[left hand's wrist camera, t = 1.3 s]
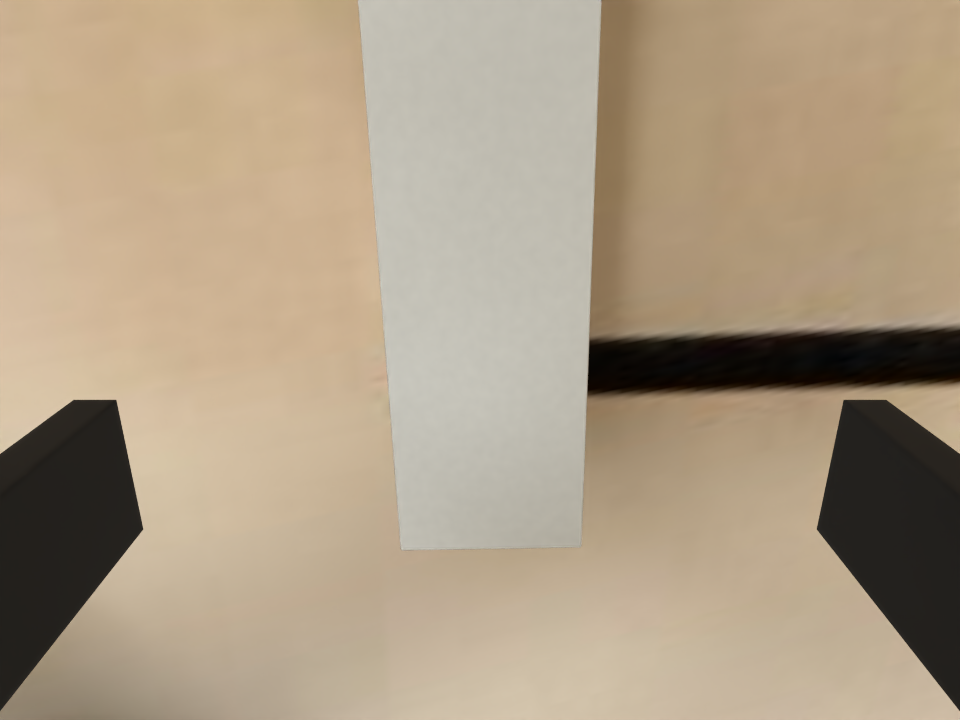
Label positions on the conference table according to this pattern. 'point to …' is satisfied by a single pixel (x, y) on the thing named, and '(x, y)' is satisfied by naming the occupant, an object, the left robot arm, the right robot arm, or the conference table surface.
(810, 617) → the conference table surface
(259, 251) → the conference table surface
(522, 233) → the post
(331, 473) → the conference table surface
